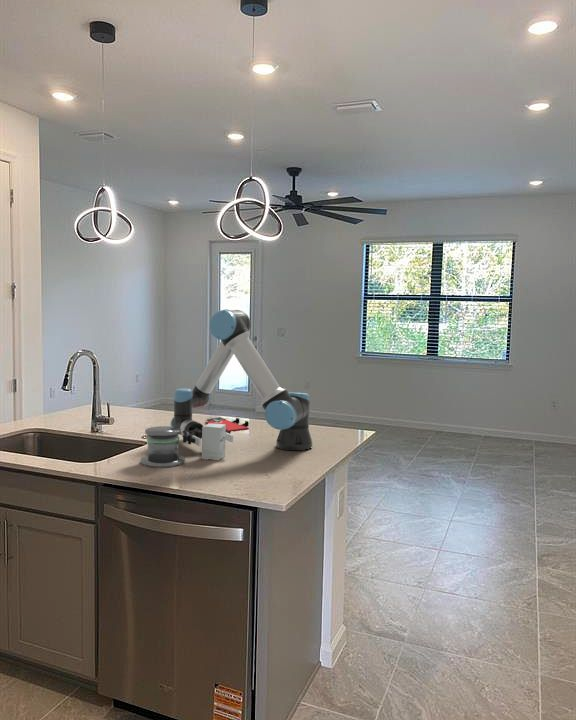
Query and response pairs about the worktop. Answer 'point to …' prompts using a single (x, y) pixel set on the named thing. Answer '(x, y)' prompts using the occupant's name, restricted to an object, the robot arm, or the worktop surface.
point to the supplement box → (213, 441)
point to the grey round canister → (162, 447)
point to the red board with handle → (229, 424)
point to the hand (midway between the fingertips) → (216, 440)
